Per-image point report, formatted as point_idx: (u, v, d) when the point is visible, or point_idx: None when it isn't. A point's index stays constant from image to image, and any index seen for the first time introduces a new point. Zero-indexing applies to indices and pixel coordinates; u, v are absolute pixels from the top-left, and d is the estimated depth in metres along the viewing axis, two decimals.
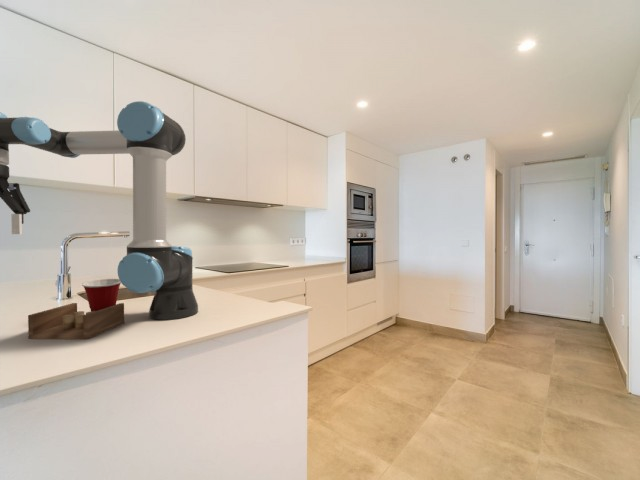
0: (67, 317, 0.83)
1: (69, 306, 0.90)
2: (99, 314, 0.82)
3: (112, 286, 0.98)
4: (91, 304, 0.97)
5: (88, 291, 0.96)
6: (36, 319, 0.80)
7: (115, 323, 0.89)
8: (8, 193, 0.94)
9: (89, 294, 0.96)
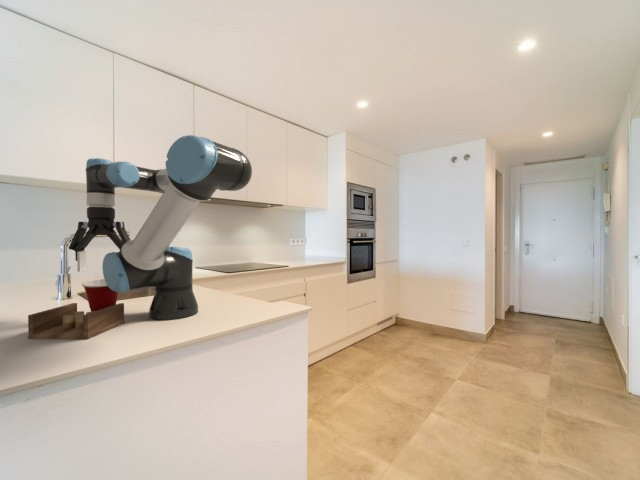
0: (67, 317, 0.83)
1: (69, 306, 0.90)
2: (99, 314, 0.82)
3: None
4: (91, 304, 0.97)
5: (88, 291, 0.96)
6: (36, 319, 0.80)
7: (115, 323, 0.89)
8: (106, 233, 0.98)
9: (89, 294, 0.96)
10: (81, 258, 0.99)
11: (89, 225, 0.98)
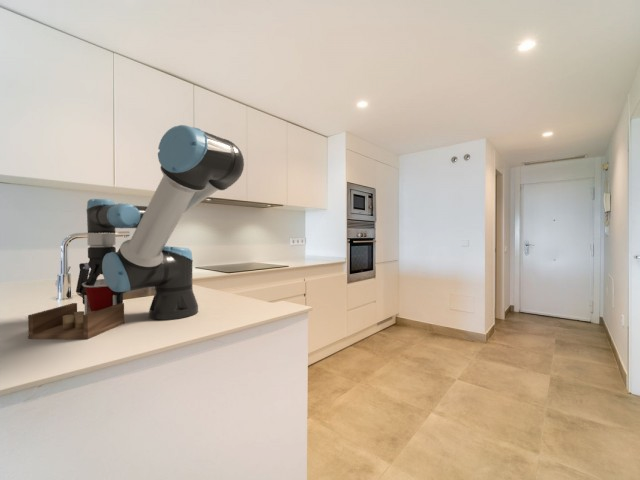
0: (67, 317, 0.83)
1: (69, 306, 0.90)
2: (99, 314, 0.82)
3: None
4: (91, 304, 0.97)
5: (88, 291, 0.96)
6: (36, 319, 0.80)
7: (115, 323, 0.89)
8: None
9: (89, 294, 0.96)
10: None
11: (90, 264, 0.99)
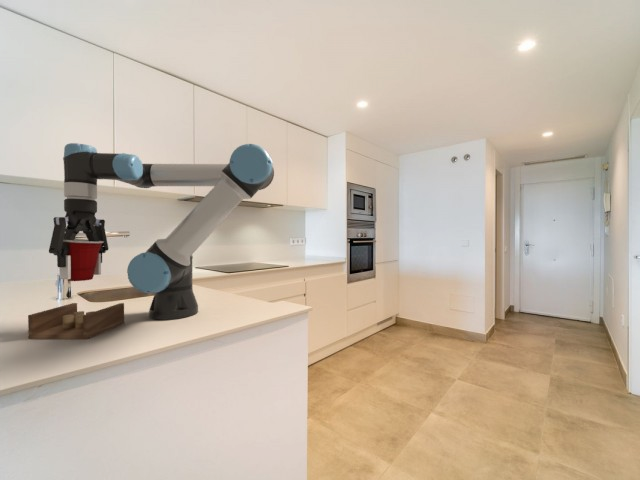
0: (67, 317, 0.83)
1: (69, 306, 0.90)
2: (99, 314, 0.82)
3: None
4: (87, 263, 0.86)
5: (89, 248, 0.85)
6: (36, 319, 0.80)
7: (115, 323, 0.89)
8: (93, 230, 0.89)
9: (88, 252, 0.86)
10: None
11: (74, 219, 0.84)
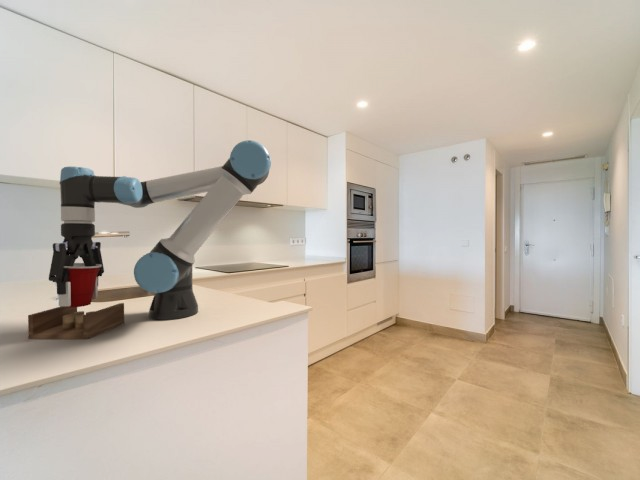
0: (67, 317, 0.83)
1: None
2: (99, 314, 0.82)
3: None
4: (87, 288, 0.84)
5: (89, 273, 0.84)
6: (36, 319, 0.80)
7: (115, 323, 0.89)
8: (91, 253, 0.88)
9: (88, 277, 0.84)
10: None
11: (73, 244, 0.82)
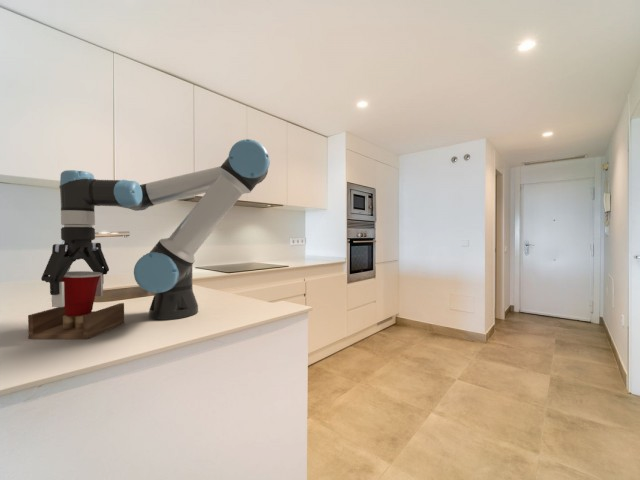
0: (67, 317, 0.83)
1: None
2: (99, 314, 0.82)
3: None
4: (87, 297, 0.84)
5: (90, 282, 0.84)
6: (36, 319, 0.80)
7: (115, 323, 0.89)
8: (92, 256, 0.88)
9: (89, 285, 0.84)
10: None
11: (73, 248, 0.82)
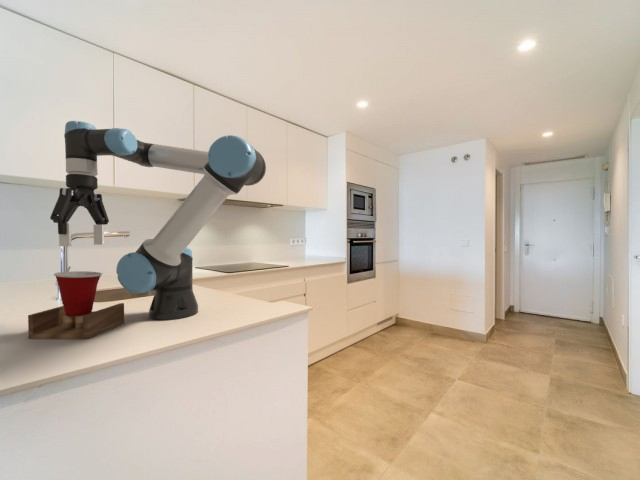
0: (67, 317, 0.83)
1: None
2: (99, 314, 0.82)
3: None
4: (87, 297, 0.84)
5: (90, 282, 0.84)
6: (36, 319, 0.80)
7: (115, 323, 0.89)
8: (95, 204, 0.94)
9: (89, 285, 0.84)
10: None
11: (78, 194, 0.88)
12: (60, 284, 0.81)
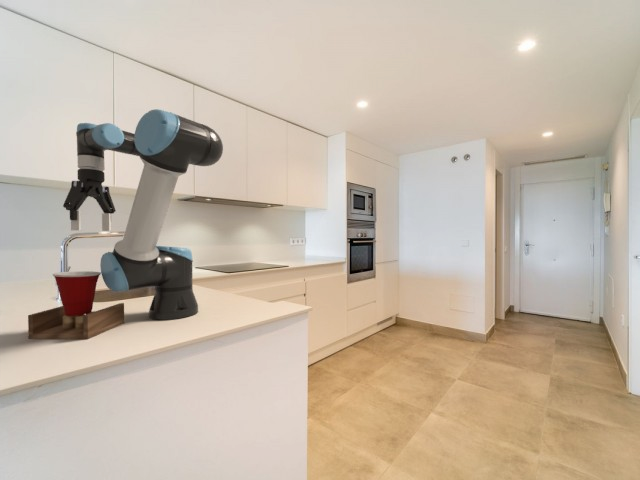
0: (67, 317, 0.83)
1: None
2: (99, 314, 0.82)
3: None
4: (87, 296, 0.84)
5: (88, 281, 0.84)
6: (36, 319, 0.80)
7: (115, 323, 0.89)
8: (102, 195, 1.08)
9: (88, 285, 0.84)
10: None
11: (87, 186, 1.02)
12: (59, 284, 0.81)
